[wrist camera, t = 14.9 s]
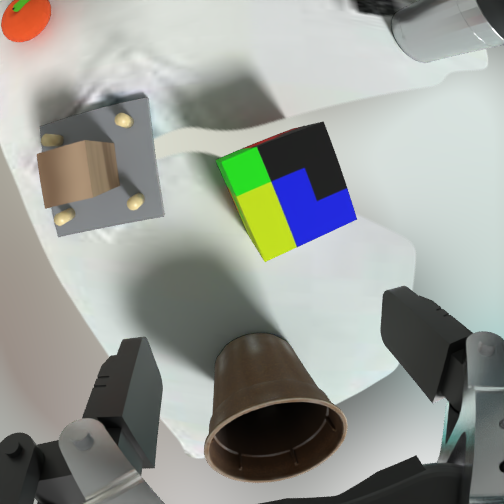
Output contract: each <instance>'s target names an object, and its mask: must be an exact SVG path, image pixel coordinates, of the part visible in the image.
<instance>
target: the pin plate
mask: <svg viewBox="0 0 504 504" xmlns="http://www.w3.org/2000/svg"><path fill="white" fill-rule="evenodd" d="M40 134H41V143H42V152H45V151H48V150H51V149H55V148H58V147H62V146H65V145H69V144H72V143H76V142H80V141H84V140H89V141H98V142H108V143H114V145H115V153H116V161H117V168H118V175H119V182H120V186H118V187H116V188H114V189H111V190H109V191H107V192H105V193H102V194H100V195H98V196H96V197H93V198H89V199H84V200H80V201H75V202H71V203H67V204H62V205H58V206H54V207H52V212H53V217H54V222H55V226H56V230H57V234H58V237H61V236H66V235H71V234H75V233H80V232H85V231H90V230H95V229H100V228H105V227H110V226H115V225H120V224H125V223H131V222H136V221H142V220H147V219H153V218H158V217H164V215H165V213H164V207H163V201H162V195H161V189H160V182H159V176H158V169H157V162H156V156H155V149H154V140H153V133H152V124H151V116H150V107H149V99H148V98H147V97H146V98H141V99H136V100H132V101H127V102H123V103H119V104H115V105H110V106H106V107H103V108H99V109H95V110H91V111H88V112H84V113H81V114H77V115H74V116H71V117H67V118H64V119H61V120H58V121H55V122H52V123H49V124H46V125H43V126H40Z"/></svg>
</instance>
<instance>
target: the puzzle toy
mask: <svg viewBox="0 0 504 504" xmlns="http://www.w3.org/2000/svg"><path fill="white" fill-rule="evenodd" d="M216 163H217V165H218V167H219V170H220V172H221V174H222V176H223V179H224V181H225V183H226V185H227V188H228V190H229V192H230V194H231V197H232V199H233V201H234V204H235V206H236V208H237V210H238V213H239V215H240V217H241V220H242V222H243V224H244V226H245V229H246V231H247V233H248V235H249V237H250V239H251V240H252V242H253V244H254V245H255V247H256V248H257V250H258V252H259V253H260V255H261V257H262V258H263V260H264V261H265V262H266V261H268V260H270V259H272V258H275V257H277V256H279V255H281V254H283V253H286V252H288V251H290V250H292V249H294V248H296V247H299V246H301V245H303V244H305V243H307V242H309V241H312V240H314V239H316V238H318V237H320V236H322V235H324V234H327V233H329V232H331V231H333V230H335V229H337V228H339V227H342V226H344V225H346V224H348V223H350V222H352V221H354V220H357V218H356V214H355V211H354V208H353V205H352V201H351V199H350V195H349V192H348V189H347V186H346V183H345V180H344V177H343V174H342V171H341V168H340V165H339V163H338V159H337V157H336V154H335V151H334V149H333V146H332V143H331V140H330V137H329V135H328V132H327V130H326V127H325V124H324V122H320V123H316V124H311V125H307V126H302V127H298V128H294V129H291V130H288V131H285V132H283V133H280V134H277V135H275V136H272V137H270V138H267V139H265V140H263V141H260V142H257V143H255V144H252V145H250V146H247V147H245V148H243V149H240V150H238V151H235V152H233V153H231V154H228V155H226V156H224V157H221V158H219V159H217V160H216Z"/></svg>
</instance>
